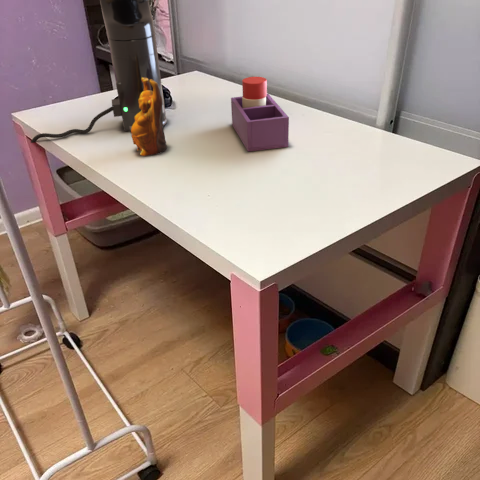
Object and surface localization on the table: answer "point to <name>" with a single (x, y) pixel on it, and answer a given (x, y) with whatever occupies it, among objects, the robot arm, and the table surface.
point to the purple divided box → (260, 125)
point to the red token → (254, 88)
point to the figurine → (149, 121)
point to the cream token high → (253, 102)
